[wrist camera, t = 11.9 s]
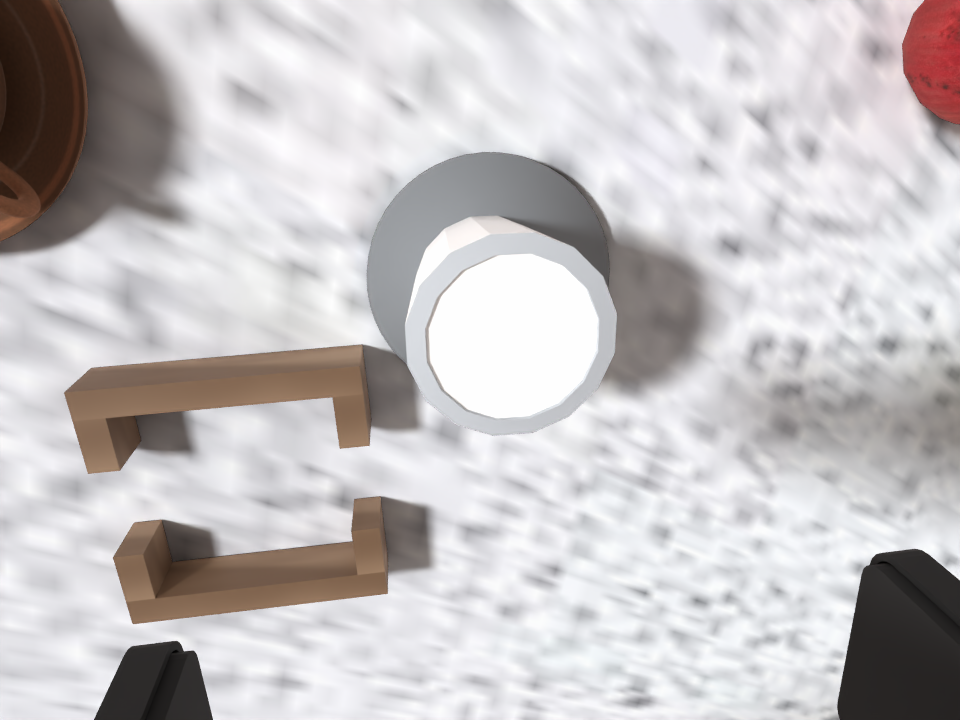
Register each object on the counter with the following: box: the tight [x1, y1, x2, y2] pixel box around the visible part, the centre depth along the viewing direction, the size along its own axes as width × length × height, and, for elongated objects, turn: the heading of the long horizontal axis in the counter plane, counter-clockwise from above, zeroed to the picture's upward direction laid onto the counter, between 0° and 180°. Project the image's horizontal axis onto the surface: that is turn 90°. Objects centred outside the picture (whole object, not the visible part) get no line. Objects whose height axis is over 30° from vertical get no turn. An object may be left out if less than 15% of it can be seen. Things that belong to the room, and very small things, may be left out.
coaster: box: [367, 152, 609, 364], centre depth 28 cm, size 10×10×1 cm
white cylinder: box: [405, 216, 617, 436], centre depth 25 cm, size 7×7×7 cm
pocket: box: [64, 345, 388, 624], centre depth 29 cm, size 11×11×2 cm
